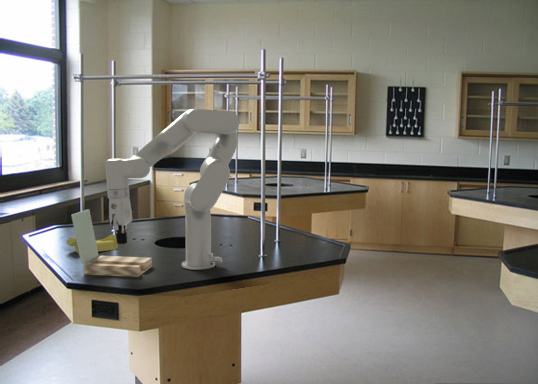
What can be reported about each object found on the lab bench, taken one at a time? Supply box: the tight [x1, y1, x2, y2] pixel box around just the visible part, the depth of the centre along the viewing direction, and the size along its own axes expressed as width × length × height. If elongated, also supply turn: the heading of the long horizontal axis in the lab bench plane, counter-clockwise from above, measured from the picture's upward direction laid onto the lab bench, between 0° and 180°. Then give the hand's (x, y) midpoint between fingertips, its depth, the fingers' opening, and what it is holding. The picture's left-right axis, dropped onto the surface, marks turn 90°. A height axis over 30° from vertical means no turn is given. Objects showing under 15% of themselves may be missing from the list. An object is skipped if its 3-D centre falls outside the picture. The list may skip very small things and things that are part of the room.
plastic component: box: [65, 233, 119, 254], centre depth 230 cm, size 20×7×10 cm
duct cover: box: [71, 208, 100, 265], centre depth 199 cm, size 18×12×1 cm
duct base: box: [83, 255, 153, 278], centre depth 199 cm, size 20×14×4 cm
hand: (122, 243), depth 196 cm, fingers closed
